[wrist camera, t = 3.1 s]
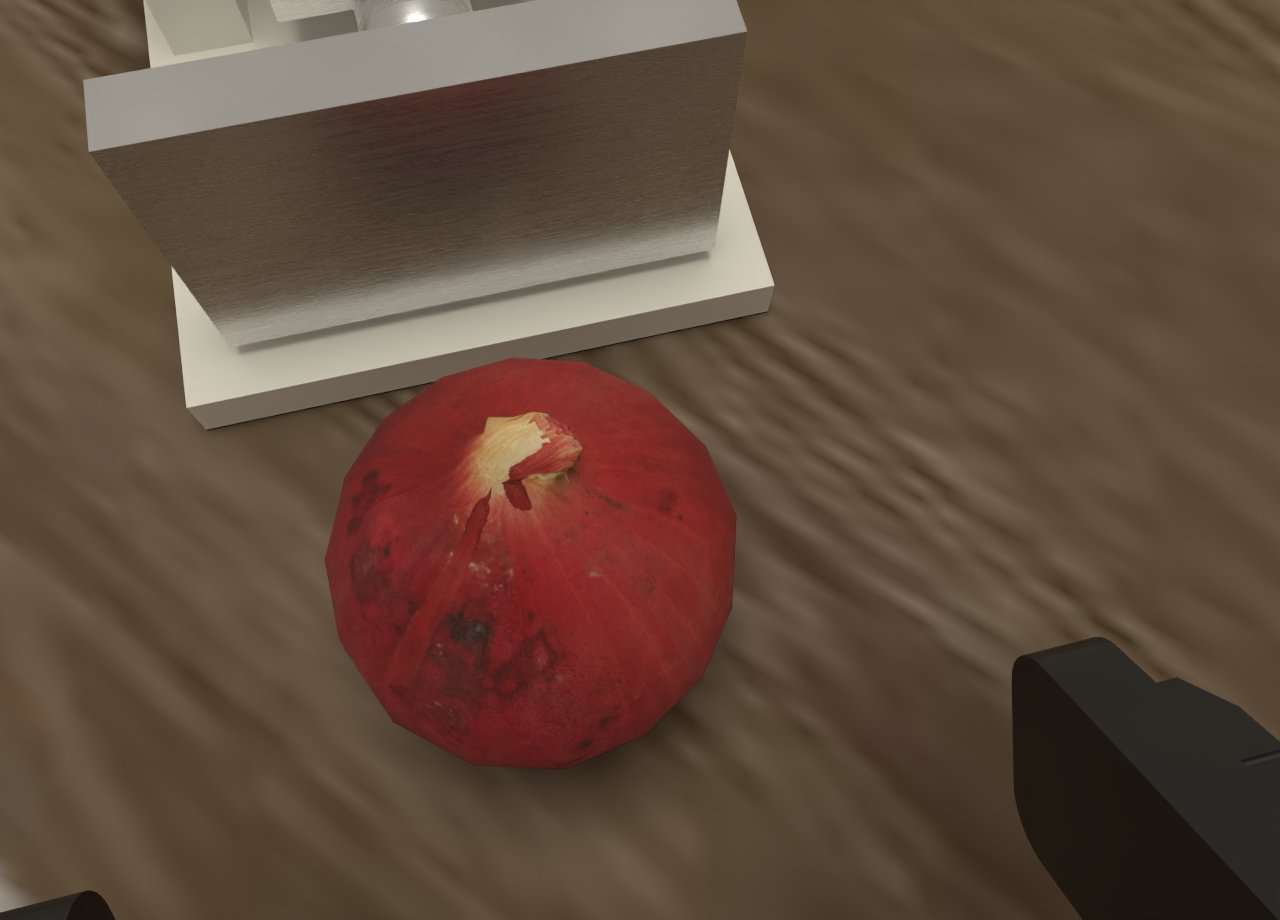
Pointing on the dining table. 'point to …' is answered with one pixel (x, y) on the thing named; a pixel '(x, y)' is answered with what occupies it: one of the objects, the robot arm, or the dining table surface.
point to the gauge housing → (448, 333)
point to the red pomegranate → (531, 563)
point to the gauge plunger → (426, 154)
